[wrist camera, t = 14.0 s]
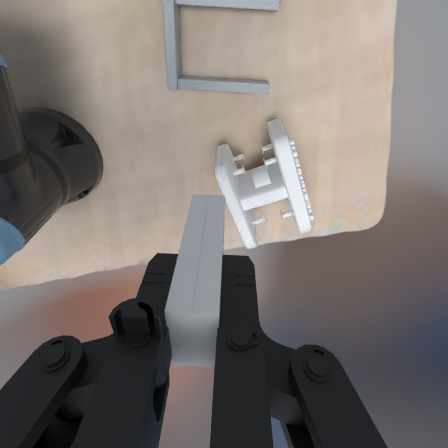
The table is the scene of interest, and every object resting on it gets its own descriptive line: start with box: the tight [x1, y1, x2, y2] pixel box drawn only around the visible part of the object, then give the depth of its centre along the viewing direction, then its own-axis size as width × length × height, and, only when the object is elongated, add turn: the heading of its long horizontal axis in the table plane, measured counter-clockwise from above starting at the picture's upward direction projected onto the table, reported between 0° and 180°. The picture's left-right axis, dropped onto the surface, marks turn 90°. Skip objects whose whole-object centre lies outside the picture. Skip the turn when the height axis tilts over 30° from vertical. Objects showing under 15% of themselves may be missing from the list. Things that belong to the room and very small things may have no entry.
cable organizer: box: [214, 118, 314, 249], centre depth 43 cm, size 15×11×12 cm
